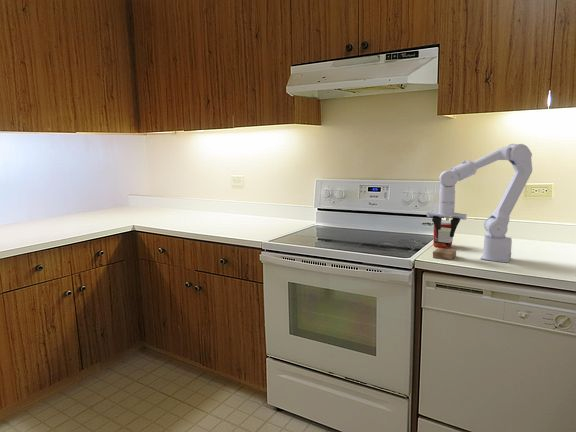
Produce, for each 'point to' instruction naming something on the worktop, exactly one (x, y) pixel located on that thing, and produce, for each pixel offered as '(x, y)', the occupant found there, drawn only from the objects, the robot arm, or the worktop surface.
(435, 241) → the canned food
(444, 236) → the tea tin
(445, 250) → the walnut block
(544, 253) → the worktop surface
